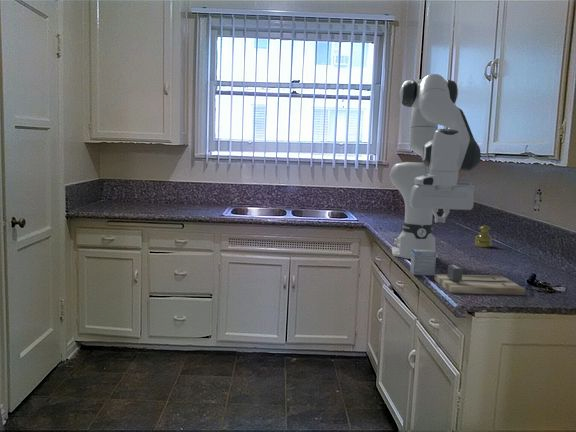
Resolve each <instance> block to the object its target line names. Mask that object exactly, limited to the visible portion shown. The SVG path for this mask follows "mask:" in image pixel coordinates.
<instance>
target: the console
mask: <svg viewBox="0 0 576 432" xmlns="http://www.w3.org/2000/svg"><path fill="white" fill-rule="evenodd" d="M433 281H436V282H437V284H439V285H440V286H442V287H443V288H444V289H445V290H446V291H447V292H449V293H451V294H477V295H479V294H480V295H484V294H485V295H510V296H511V295H512V296H513V295H518V296H525V295H526V288H525V287H523V286H521V285H520V284H518V283H516V282H514V281H512V280H511V279H509V278H508V277H507V278H506V277H505V276H503V275H488V274H487V275H486V274H482V275H481V274H462V281H452V280H451V279H450V278H448V277H447V273H435V274H434V276H433Z"/></svg>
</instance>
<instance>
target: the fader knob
mask: <svg viewBox="0 0 576 432" xmlns="http://www.w3.org/2000/svg"><path fill="white" fill-rule="evenodd" d="M446 274H447V277H448V278H450V279H451V280H452V281H462V275H463V268H462V267H461V266H460V265H458V264H457V265H456V264H448V265H447V273H446Z"/></svg>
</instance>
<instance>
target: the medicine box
mask: <svg viewBox="0 0 576 432" xmlns="http://www.w3.org/2000/svg"><path fill="white" fill-rule="evenodd" d="M436 255H438V253H437V252H436V250H435V251H433V250H420V249H412V253H411V259H410V268H409V272H410V273H411V275H412V276H430V277H431V276H433V277H434V274H436V263H437V258H436Z"/></svg>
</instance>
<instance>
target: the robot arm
mask: <svg viewBox="0 0 576 432" xmlns="http://www.w3.org/2000/svg"><path fill="white" fill-rule="evenodd" d="M458 96H459V89H458V84H457V82H455V81H454V80H451V79H445V78H444V77H443V76H442V75H441V74H438V73H430V74H428V75H426V76H424V77H423V79H409V80H405V81H404V82H403V83H402V85H401V86H400V89H399V99H400V102H401V104H402V105H403V106H404V107H407V108H412V107H413V108H412V110H411V115H410V124H409V144H408V145H409V148H410V150H411V151H412V152H413V153H415V154H417V155H419V156H420V157H421V160H422V162H416V161H415V162H414V161H413V162H411V161H405V162H398V163H395V164H394V165H393V166H392V167H391V169H390V172H389V180H390V182H391V184H392V186H394V188H396V189H397V190H398V192H399V193H400V194H401V196H402V198H403V201H404V221H403V223H402V231H401V232H400V234H399V235H398V237H397V238H394V239H393V240H394V242H393V244H394V245H396V246H391V252H392V253H391V254H392V256H393V257H398V258H403V259H408V260H411V253H412V249H420V250H433V251H435V252H436V237H435V236H434V235H433V230H434V224H433V216H434V223H437V224H438V223H440V224H445V223H446V218H447V217H448V215H449V214H450V210H461V211H462V210H464V211H467V210H468V211H472V209H473V208H474V202H475V201H474V200H475V199H474V193H475V187H476V186H475V184H474V183H472V181H470V180H459V171H464V172H471V171H472V170H473V169H475V168H476V167H477V166H478V165H479V164H480V162H481V156H482V155H481V153H482V152H481V148H480V146H479V144H478V142H477V141H476V139H475V137H474V134H473V133H472V130H471V128H470V125H469V122H468V120H467V117H466V115H465V112H464V111H463V110H462V109H461V108H460V107H458V106H457V105H456V104H455V103H456V101H457V100H458ZM439 126H443V127H446V128H439ZM441 209H442V212H443V213H442V215H441V216H439V215H438V212H439V210H441ZM438 258H439V254H437V255H436V259H438Z"/></svg>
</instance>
